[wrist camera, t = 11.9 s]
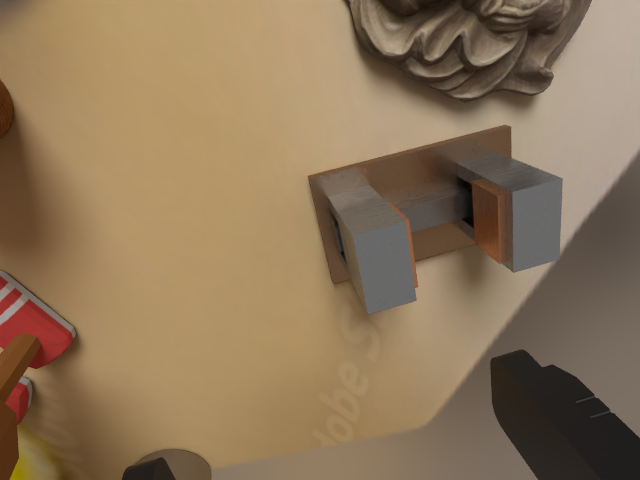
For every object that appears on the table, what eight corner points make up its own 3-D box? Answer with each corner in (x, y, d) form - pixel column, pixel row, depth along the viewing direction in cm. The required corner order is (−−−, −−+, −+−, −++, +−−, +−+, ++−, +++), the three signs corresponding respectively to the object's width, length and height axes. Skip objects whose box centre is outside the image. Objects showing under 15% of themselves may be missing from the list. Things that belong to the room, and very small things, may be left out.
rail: (506, 230, 45) (575, 275, 36) (331, 278, 44) (357, 338, 35) (504, 125, 40) (582, 147, 31) (308, 175, 39) (330, 214, 30)
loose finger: (387, 250, 42) (423, 298, 34) (342, 263, 42) (368, 314, 34) (376, 183, 39) (413, 219, 31) (327, 196, 39) (352, 236, 31)
